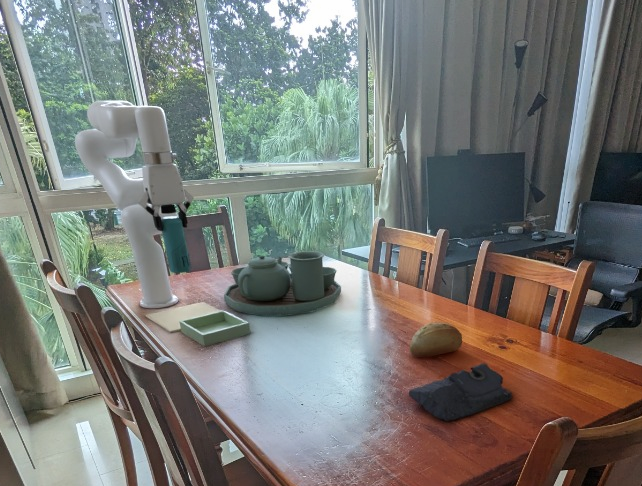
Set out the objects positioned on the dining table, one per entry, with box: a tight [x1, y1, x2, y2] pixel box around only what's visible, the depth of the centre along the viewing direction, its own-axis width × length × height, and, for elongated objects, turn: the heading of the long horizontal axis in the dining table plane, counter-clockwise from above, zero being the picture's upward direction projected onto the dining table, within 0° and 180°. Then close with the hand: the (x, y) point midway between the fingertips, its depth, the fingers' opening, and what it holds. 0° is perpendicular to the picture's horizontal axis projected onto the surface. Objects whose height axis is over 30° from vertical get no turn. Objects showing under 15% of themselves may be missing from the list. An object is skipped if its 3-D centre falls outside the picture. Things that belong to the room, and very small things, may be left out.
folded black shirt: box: [408, 362, 513, 422], centre depth 112 cm, size 15×22×5 cm
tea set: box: [223, 250, 342, 317], centre depth 174 cm, size 40×40×16 cm
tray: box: [179, 309, 251, 347], centre depth 150 cm, size 16×15×3 cm
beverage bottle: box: [161, 204, 192, 274], centre depth 150 cm, size 6×7×20 cm
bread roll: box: [409, 321, 463, 358], centre depth 132 cm, size 10×15×8 cm, turn 114°
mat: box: [145, 301, 221, 334], centre depth 163 cm, size 20×20×1 cm
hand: (172, 228), depth 148 cm, fingers closed on beverage bottle, 6 cm apart
